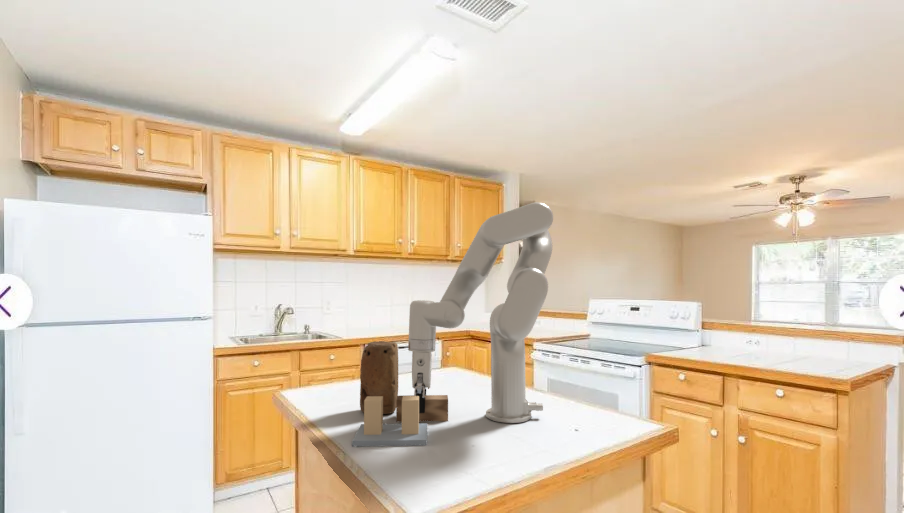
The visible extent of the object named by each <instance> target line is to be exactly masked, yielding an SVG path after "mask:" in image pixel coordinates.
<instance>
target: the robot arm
mask: <svg viewBox="0 0 904 513" xmlns="http://www.w3.org/2000/svg"><path fill="white" fill-rule="evenodd" d="M553 222H554V214H553V211H552V209H551V208H550V206H548V205H547V204H545V203H543V202H538V201H536V202H531V203H528V204H526V205H523V206H519V207H517V208H514V209H511V210H507V211H505V212H501V213H498V214H495V215H492V216H490V217H489V218H487V219H485V221H483V222H482V224H481V225H480V226H479V229H477V232H476V234H475V235H474V238H473V240H472V241H471V243H470V245H469V247H468V249H467V251H466V253H465V254H464V256H463V258H462V260H461V262H460V263H459V265H458V267H457V269H456V271H455V274H454V276H453V278H452V280H451V281H450V283H449V285H448V287H447V288H446V290H445V292H444V293H443V296H442V297H441V299H440V300H439V302H436V301H432V300H425V299H424V300H421V299H420V300H412V301H411V302H410V304H409V319H408V320H409V321H408V322H409V323H408V325H409V326H408V345H407V346H408V347H407V350H408V351H409V352H411V353H412V354H411V381H412V382H411V385H412V388H413V389H414V393H413V395H414V396H419V413H425V397H424V396H425V395H427V389H428V390H429V389H431V385H432V384H431V382H432V353H433V352H436V340H437V339H436V336H437V334H436V332H437V327H439V328H443V329H455V328H458V327H459V326H461V325H462V324H463V322H464V320H465V314H466V313H465V309H466V307H467V305H468V303H469V301H470V300H471V298H472V296H473V294H474V293H475V292H476V290H477V289H478V287H480V286H481V285H482V284H483V283H484V282H485V280H486V279H487V278H488V276H489V274H490V272H491V271H492V268H493V267H494V264H495V262H496V261H497V259H498V257H499V255H500V254H501V252H502V250H503V248H504V246H505V245H508V244H512V243H515V242H519V241H522V247H521V250H520V253H519V255H518V258H517V260H516V263H515V265H514V267H513V269H512V272H511V274H510V276H509V277H508V280H507V284H506V289H507V292H508V294H507V297H506V299H505V301H504V303H500V304H498V305H496V307H494V309H493V310H492V311H491V314H490V317H489V334H490V352H491V353H490V354H491V355H490V356H491V358H490V360H491V361H490V363H491V367H490V368H491V373H490V374H491V376H490V377H491V379H490V380H491V384H490V385H491V394H490V395H491V397H490V399H491V407H490V408H488V409H487V410H486V411H485V417H486V418H487V419H489V420H491V421H493V422H497V423H504V424H505V423H507V424H517V423H520V424H521V423H524V422H529V420H531V419H532V412H533V411H537V412H539V411H540V412H542V411H544V405H543V403H537V402H535V401H533V402H532V401H531V402H529V401H528V400H527V399H526V344H525V343H526V342H525V339H526V338H527V337H528V335H529V334H531V332H532V330H533V328H534V326H535V324H536V322H537V319H538V317H539V314H540V312H541V310H542V308H543V305H544V303H545V300H546V298H547V295H548V291H549V282H548V278H547V276H546V275H545V273H546V272H547V269H548V265H549V262H550V261H551V257H552V252H553V242H552V237H551V233H550V230H549V229H550V228H551V226H552V225H553ZM422 396H423V397H422Z"/></svg>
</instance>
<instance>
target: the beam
mask: <svg viewBox="0 0 904 513" xmlns="http://www.w3.org/2000/svg"><path fill="white" fill-rule="evenodd" d="M403 396H404V395H398V397H397V400H396V410H395V413H396V414H395V415H396V416H395V419H396V423H402V398H403ZM408 396H414V394H413V395H408ZM422 397H423V396H422ZM424 397H425V413H419V422H449V396H448V394H443V395H442V394H439V395H438V394H431V395H430V394H429V395H428V394H426V395H425V396H424Z"/></svg>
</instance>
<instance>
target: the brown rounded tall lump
mask: <svg viewBox="0 0 904 513" xmlns="http://www.w3.org/2000/svg"><path fill="white" fill-rule="evenodd" d="M359 371H360V374H359V375H360V376H359V377H360V378H359V379H360V386H359V388H360V390H359V392H360V393H359V397H360V398H359V408H360V411H361V412H362V413H364V400H365V399H366V397H367V396H383V415H388V414H390V415H391V414H392V413H394V412H396V400H397V397H398V396H399V347H398V343H397V342H395V341H389V342H388V341H385V340H384V341H383V340H382V341H380V340H379V341H370V342H368V343H367V345H366V346H365V347H364V348H363V351H362V354H361V359H360V370H359Z"/></svg>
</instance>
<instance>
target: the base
mask: <svg viewBox="0 0 904 513" xmlns="http://www.w3.org/2000/svg"><path fill="white" fill-rule="evenodd" d="M402 396H403V398H402V422H401V423H384V420H383V418H384V414H383V396H367V397H366V399H365V400H364V412H363V423H361V424H360V425H359V427H358V429H357V431H356V433H355V435H354V437H353V439H352V441H351V445H352V447H386V446H387V447H390V446H391V447H393V446H396V447H397V446H398V447H399V446H401V447H402V446H403V447H404V446H407V447H408V446H427V442H426V441H427V440H428V438H427V437H428V423H426V422H425V423H420V421H419V396H409V395H402Z"/></svg>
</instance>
